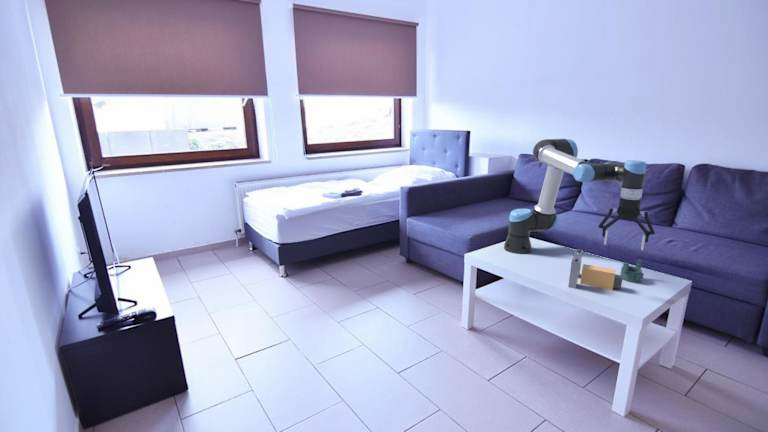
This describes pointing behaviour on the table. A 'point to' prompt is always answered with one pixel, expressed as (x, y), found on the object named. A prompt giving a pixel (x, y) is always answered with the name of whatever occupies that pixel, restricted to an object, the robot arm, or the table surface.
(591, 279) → the plug
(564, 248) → the table surface
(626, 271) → the teal lumpy piece
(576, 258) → the housing
